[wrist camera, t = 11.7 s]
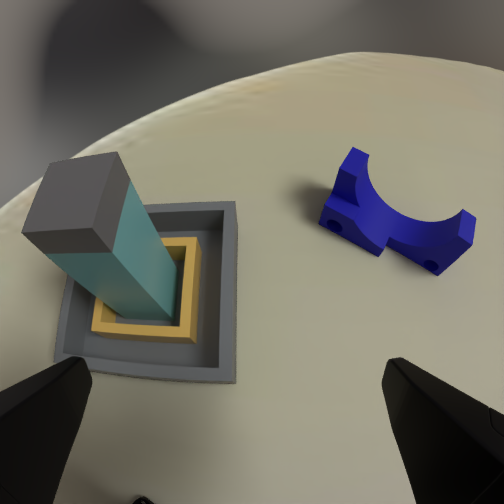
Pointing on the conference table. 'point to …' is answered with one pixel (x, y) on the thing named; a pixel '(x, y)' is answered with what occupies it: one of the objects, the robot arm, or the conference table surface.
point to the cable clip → (391, 221)
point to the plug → (103, 236)
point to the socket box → (187, 306)
